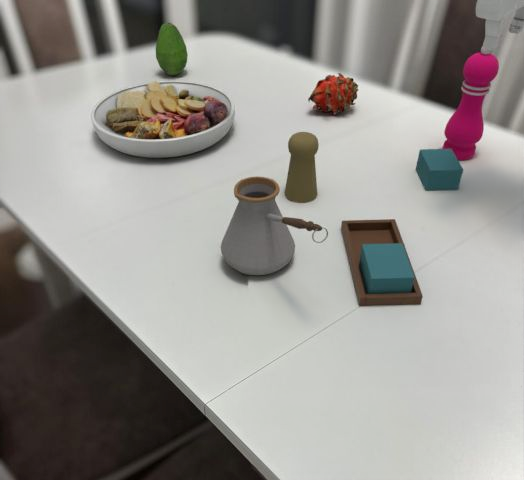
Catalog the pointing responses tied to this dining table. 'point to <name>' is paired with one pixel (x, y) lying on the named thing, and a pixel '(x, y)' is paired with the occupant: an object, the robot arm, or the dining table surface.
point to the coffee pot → (260, 229)
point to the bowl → (163, 118)
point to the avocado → (171, 50)
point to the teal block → (385, 269)
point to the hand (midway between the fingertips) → (502, 40)
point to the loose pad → (439, 169)
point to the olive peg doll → (302, 168)
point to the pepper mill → (471, 105)
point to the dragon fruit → (334, 94)
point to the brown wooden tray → (353, 240)
